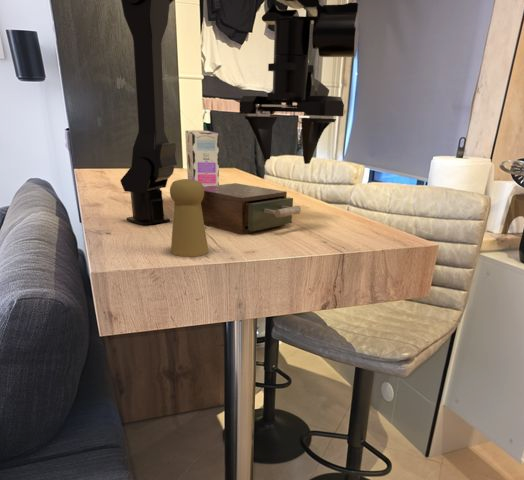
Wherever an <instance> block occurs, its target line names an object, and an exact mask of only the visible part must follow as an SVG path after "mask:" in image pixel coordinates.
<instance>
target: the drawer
mask: <svg viewBox="0 0 524 480" xmlns="http://www.w3.org/2000/svg"><path fill="white" fill-rule="evenodd" d="M301 212H302V209H301V206H299V205H296V206H295V205H294V197H289V196H288V197H286V198H279V197H275V198H268V199H262V200H255V201H249V202H245V227H246V226H248V230H250V231H255V232H257V231H256V230H260V231H262V230H261V229H265V228H269V229H271V228H270V227H274V228H276V227H275V226H278V227H280V226H279V225H283V226H285V225H289V224H292V222H293V215H299V214H301ZM284 224H285V225H284ZM265 230H266V229H265Z"/></svg>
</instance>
